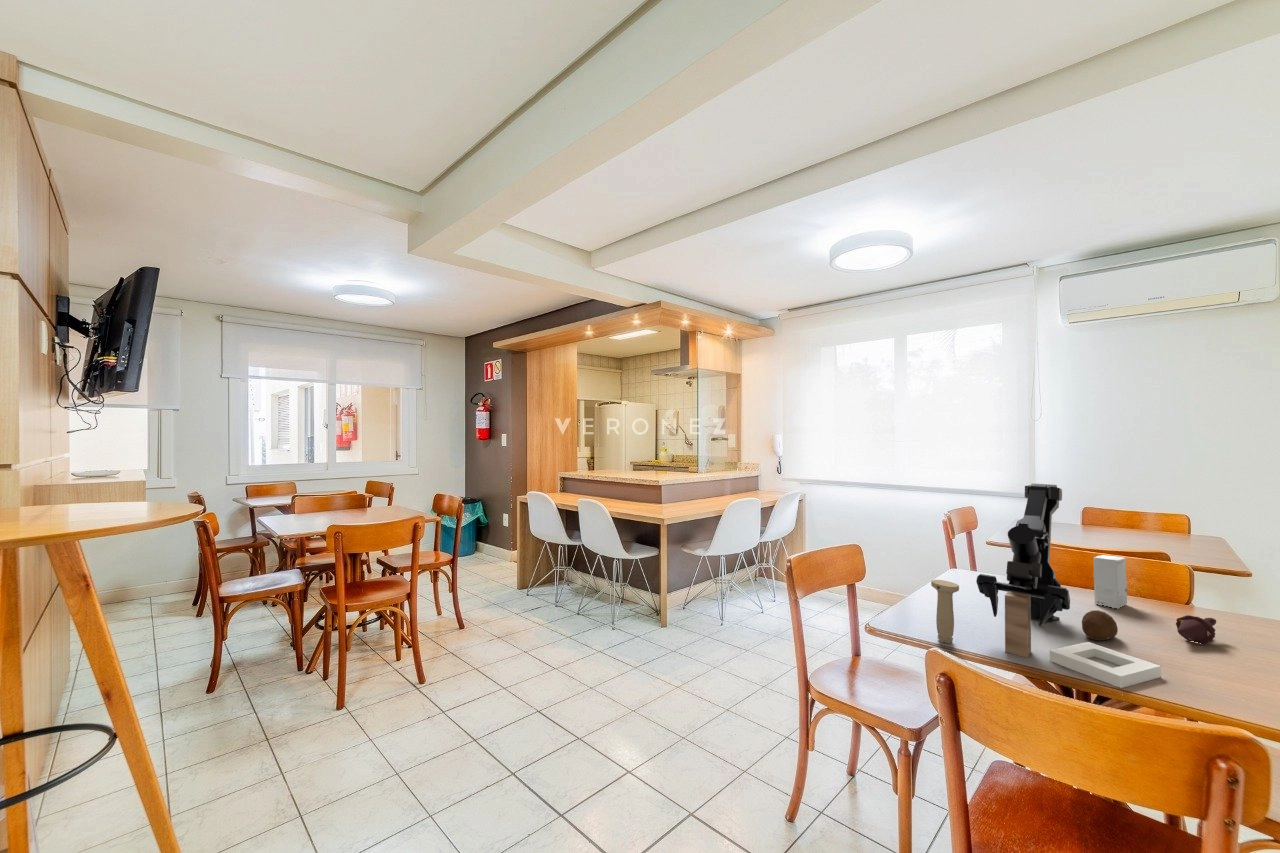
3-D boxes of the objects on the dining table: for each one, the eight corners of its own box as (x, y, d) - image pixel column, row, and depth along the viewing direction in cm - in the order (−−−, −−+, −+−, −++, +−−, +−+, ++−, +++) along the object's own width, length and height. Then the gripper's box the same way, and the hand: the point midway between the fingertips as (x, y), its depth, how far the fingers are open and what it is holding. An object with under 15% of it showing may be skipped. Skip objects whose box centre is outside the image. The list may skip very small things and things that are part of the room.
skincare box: (1118, 610, 159) (1117, 560, 159) (1092, 604, 164) (1092, 556, 164) (1127, 605, 163) (1127, 557, 163) (1102, 599, 168) (1102, 553, 168)
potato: (1074, 637, 138) (1074, 611, 138) (1088, 629, 144) (1088, 603, 144) (1109, 646, 132) (1108, 619, 132) (1122, 637, 138) (1122, 610, 138)
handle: (940, 635, 140) (940, 578, 140) (963, 644, 134) (963, 585, 134) (927, 638, 138) (927, 581, 138) (950, 647, 132) (950, 587, 132)
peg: (1009, 646, 132) (1008, 591, 132) (1031, 652, 129) (1030, 595, 129) (1005, 652, 129) (1004, 595, 129) (1027, 657, 126) (1027, 599, 126)
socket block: (1088, 652, 129) (1088, 641, 129) (1160, 677, 116) (1160, 665, 116) (1049, 660, 124) (1049, 650, 124) (1120, 688, 111) (1120, 676, 111)
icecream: (1203, 627, 128) (1235, 624, 133) (1165, 610, 135) (1197, 608, 140) (1192, 652, 129) (1225, 648, 135) (1155, 634, 136) (1188, 631, 142)
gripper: (977, 543, 139) (966, 594, 131) (1068, 554, 126) (1062, 612, 118) (985, 567, 145) (975, 617, 137) (1072, 581, 131) (1067, 637, 123)
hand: (1017, 620), depth 129 cm, fingers open, 9 cm apart
